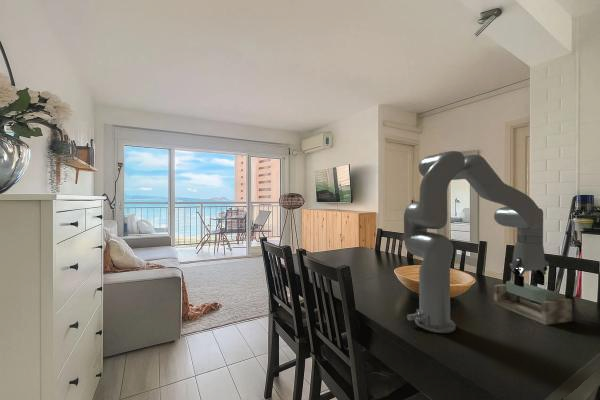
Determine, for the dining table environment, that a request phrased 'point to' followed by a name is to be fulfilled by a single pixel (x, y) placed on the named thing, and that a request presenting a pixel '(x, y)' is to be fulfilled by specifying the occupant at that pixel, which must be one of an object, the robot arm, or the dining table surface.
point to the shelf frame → (534, 307)
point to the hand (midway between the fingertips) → (529, 284)
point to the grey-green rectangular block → (530, 292)
